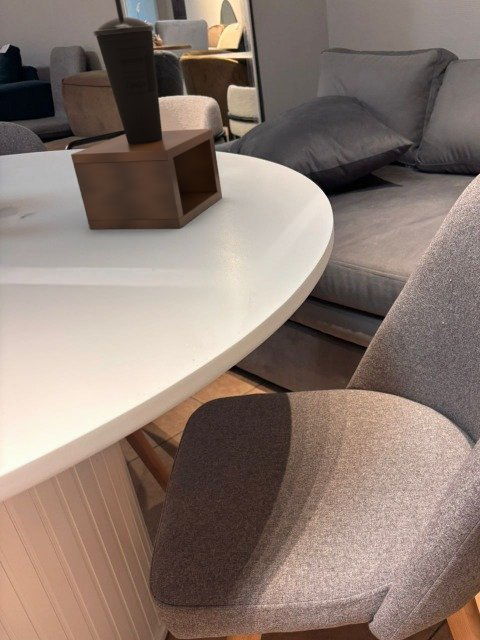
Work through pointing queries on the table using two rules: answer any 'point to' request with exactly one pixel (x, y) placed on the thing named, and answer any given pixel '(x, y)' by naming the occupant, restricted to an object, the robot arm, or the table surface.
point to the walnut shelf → (148, 180)
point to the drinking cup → (132, 75)
